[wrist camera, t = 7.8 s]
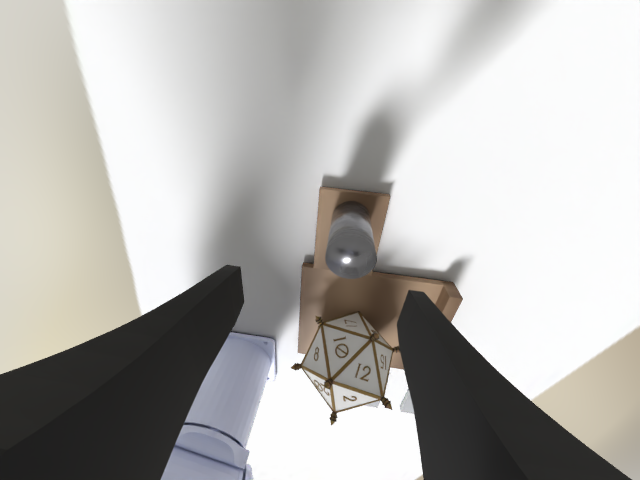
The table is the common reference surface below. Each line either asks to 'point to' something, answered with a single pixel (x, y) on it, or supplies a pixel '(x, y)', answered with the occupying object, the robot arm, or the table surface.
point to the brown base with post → (358, 270)
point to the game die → (348, 363)
